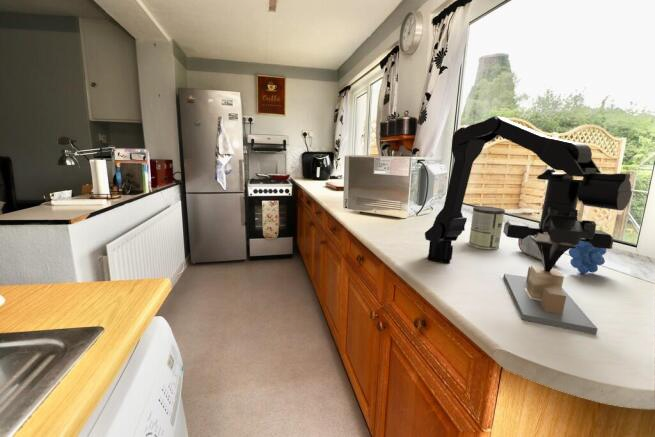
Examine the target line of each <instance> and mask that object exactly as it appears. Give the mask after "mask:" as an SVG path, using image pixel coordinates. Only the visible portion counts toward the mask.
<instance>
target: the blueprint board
mask: <svg viewBox="0 0 655 437" xmlns="http://www.w3.org/2000/svg"><path fill="white" fill-rule="evenodd" d="M530 270H531V266H528V269H527V273H526V274H527V275H526V276H522V275H515V274H509V273H503V279H504V282H505V285H506V286H507V289H508V291H509V293H510V295H511V297H512V298H511V299H512V301H513V303H514V304H515V306H516V308H517V311H518V314H519V316H520V318H521V320H522V321H527V322H531V323H535V324H540V325H541V324H542V325H546V326H550V327H551V326H552V327H557V328H563V329H567V330H571V331H577V332H582V333H587V334H592V335H597V334H598V327H597V326H596V325H595V324H594V323H593V321H592V320H591V319H590V318H589V316H587V315H586V313H585V312H584V311H583V310H582V309H581V308H580V307H579V306H578V304H577V303H576V302H575V301H574V299H572V297H571V296H570V295H569V294H568V293H567V291H565V289H564V288H563V287H562V288H561V290H556V289H550V288H544V292H543V297H542V300H541V299H536V298H532V297H531V295H530V294H529V292H528V290H527V286H528V280H529V275H530Z"/></svg>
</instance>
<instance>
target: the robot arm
mask: <svg viewBox="0 0 655 437" xmlns="http://www.w3.org/2000/svg"><path fill="white" fill-rule="evenodd" d="M498 136H499V137H501V138H503V139H504V140H507V141H508V142H511V143H513V144H516V145H517V146H520V147H521V148H524V149H526V150H528V151H530V152H533V154H535V155H536V156H537V157H538V158H539V160H540V161H542V162H543V163H544V164H546V165H547V166H549V167H550V168H547V169H546V170H545V171H544V172H542V173H541V174H539V175H537V179H538V180H543V181H544V180H545V181H547V184H546V187H545V188H546V189H545V195H544V200H543V204H542V205H541V209H542V211H541V217H540V221H538V222H539V223H538V227H532V226H529V225H527V224H526V223H525V222H521V221H510V220H507V221H506V222H505V223H504V226H503V229H502V230H503V231H502V232H503V234H504V235H505V236H506V237H507V238H512V239H524V238H526V237H527V236H528V235H531V240H532V241H534V242H535V243H536V244H537V246H538V248H539V251H540V254H541V259H542V261H541V264H542V267H544V270H545V271H548V272H550V270H551V269H554V268H553V267H555V265H556V264H557V262H558V261H559V259H560V258H561V257H562V256H563V254H565V252H566V251H567V252H568V251H569V250H570V249H571V248H573V249H575V248H576V247H577V246H575V245H578V244H579V242H580V241H586V242H589V243H590V244H591V245H592V246H593V247H597V248H606V250H611V249H613V245H614V238H613V236H612V235H611V234H610V233H607V232H605V231H603V230H601V229H600V230H599V229H597V223H596V222H595V221H594V220H586V219H582V220H579V219H578V213H579V212H578V211H579V210H578V209H577V207H578V202H581V203H582V204H583V206H584V207H585V206H586V207H592V208H600V209H605V210H607V209H608V210H613V211H614V210H615V211H623V210H625V209H626V208H627V207H628V205H629V203H630V200H631V199H632V194H633V191H631V190H632V184H631V182H630V178H631V174H630V173H602V172H601V171H600V169H599V168H598V166H597V164H596V163H595V162H594V160H593V158H592V157H593V153H592V149H591V147H590V146H589V145H587V144H585V143H582V142H577V141H571V140H567V139H563V138H558V137H557V138H556V137H551V136H548V135H546V134H543V133H541V132H538V131H536V130H534V129H531V128H528V127H526V126H524V125H522V124H518V123H516V122H514V121H511V120H510V119H508V118H507V117H501V116H496V115H495V116H491V117H488V118H487V119H485V120H482V121H479V122H476V123H475V124H470V125H468V126H465V127H460V128H458V129H457V130H456V131H454V134H453V135H452V139H451V140H452V141H451V153H452V156H453V159H454V160H453V165H452V169H451V172H450V178H449V181H448V182H449V183H448V186H447V189H446V190H447V191H446V195H445V199H444V205H443V208H442V209H441V210H440V211H439V213H437V215H436V217H435V219H434V222H433V224H432V226H431V227H430V228H429V229H427V231H425V232H424V238H425V241H428V242H429V245H428V246H429V247H428V254H427V258H426V259H427V261H431V262H438V263H444V264H450V262H451V261H452V258H453V253H454V252H453V251H454V250H453V249H454V245H453V244H452V242H453V241H454V242H455V241H456V242H457V240H458V237H459V236H460V235H461V234H462V233H463V232H464V231H465V225H466V224H467V220H468V219H467V218H468V217H464V216H463V213H462V207H463V205H464V200H465V196H466V192H467V188H468V184H469V179H470V176H471V172H472V168H473V164H474V162H475V161H476V159H477V158H478V157H479V156H480V154H481V153H482V152H483V149H484V146H485V144H487V143H490V142H492V141H494V140H495V139H496V138H497V137H498ZM556 171H563V172H556ZM575 177H582V179H580V178H579V179H578V178H575ZM550 240H551V241H552V243H551V242H550Z"/></svg>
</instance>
